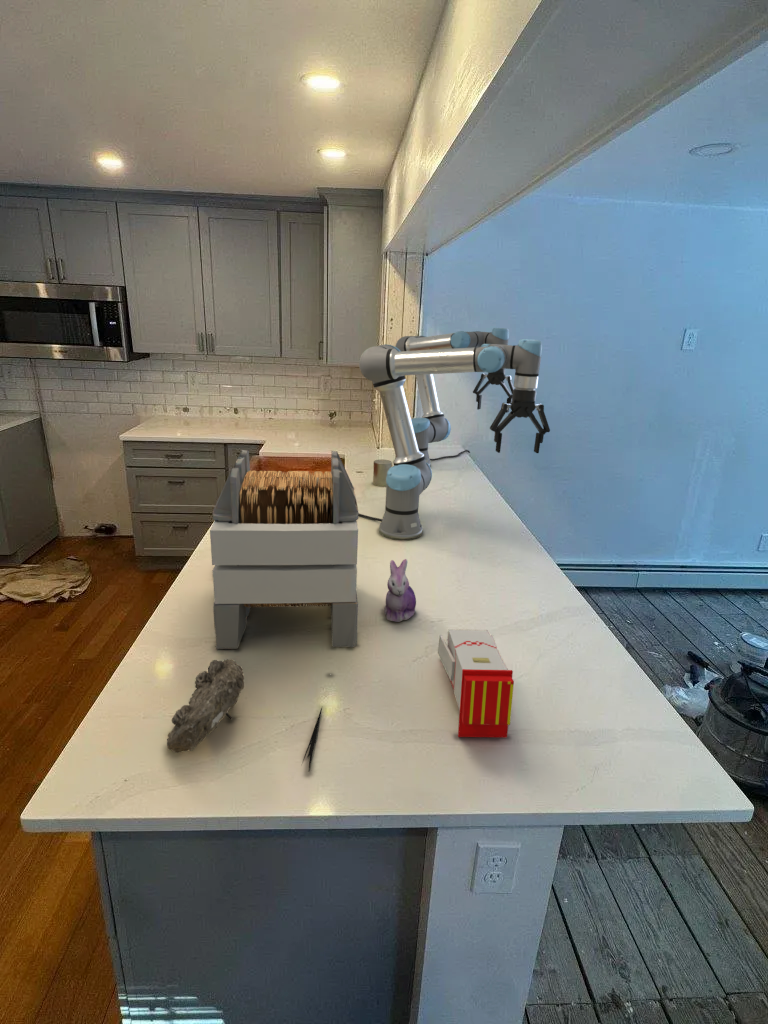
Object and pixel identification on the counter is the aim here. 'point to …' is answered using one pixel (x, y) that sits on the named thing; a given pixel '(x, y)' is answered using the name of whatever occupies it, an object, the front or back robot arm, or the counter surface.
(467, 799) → the counter surface
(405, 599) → the figurine
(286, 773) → the counter surface
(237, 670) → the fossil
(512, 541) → the counter surface
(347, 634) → the record crate
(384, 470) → the canister
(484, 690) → the toy
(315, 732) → the feather
